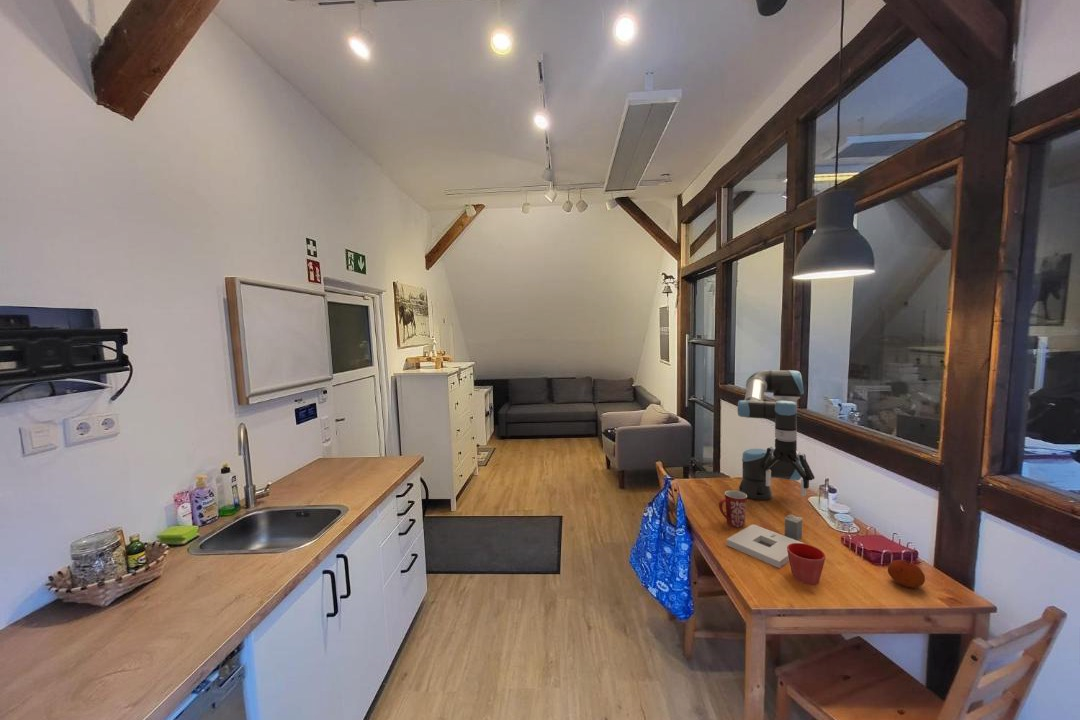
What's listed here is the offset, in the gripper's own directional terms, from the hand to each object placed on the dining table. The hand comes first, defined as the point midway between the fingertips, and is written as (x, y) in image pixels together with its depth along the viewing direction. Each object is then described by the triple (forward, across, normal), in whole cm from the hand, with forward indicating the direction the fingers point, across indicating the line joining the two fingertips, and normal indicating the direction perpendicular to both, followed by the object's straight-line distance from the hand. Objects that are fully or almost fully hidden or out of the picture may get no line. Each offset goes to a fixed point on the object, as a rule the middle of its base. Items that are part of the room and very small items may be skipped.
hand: (785, 490), depth 163 cm
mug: (+20, -19, -7) cm, 28 cm away
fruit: (+20, +38, 0) cm, 43 cm away
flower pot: (+20, +18, -23) cm, 35 cm away
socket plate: (+20, 0, -15) cm, 24 cm away
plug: (+20, +2, +2) cm, 20 cm away
